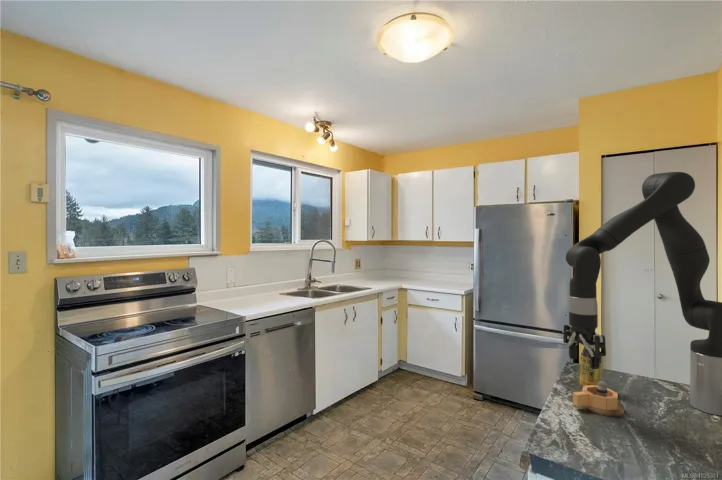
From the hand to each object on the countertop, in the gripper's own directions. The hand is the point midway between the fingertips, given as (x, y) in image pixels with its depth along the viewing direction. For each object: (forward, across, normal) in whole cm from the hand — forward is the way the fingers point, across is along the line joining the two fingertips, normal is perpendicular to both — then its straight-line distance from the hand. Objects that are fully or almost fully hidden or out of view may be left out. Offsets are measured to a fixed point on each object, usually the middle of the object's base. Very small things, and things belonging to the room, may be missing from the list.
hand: (583, 363), depth 108 cm
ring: (+13, 0, -3) cm, 13 cm away
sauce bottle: (+14, +12, -12) cm, 22 cm away
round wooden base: (+14, 0, -6) cm, 15 cm away
